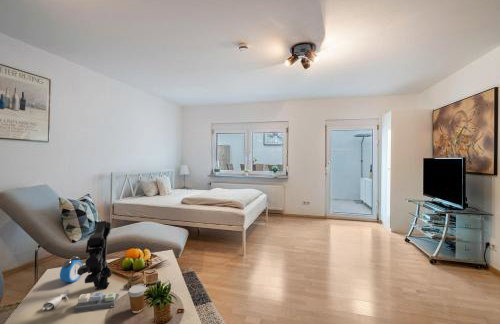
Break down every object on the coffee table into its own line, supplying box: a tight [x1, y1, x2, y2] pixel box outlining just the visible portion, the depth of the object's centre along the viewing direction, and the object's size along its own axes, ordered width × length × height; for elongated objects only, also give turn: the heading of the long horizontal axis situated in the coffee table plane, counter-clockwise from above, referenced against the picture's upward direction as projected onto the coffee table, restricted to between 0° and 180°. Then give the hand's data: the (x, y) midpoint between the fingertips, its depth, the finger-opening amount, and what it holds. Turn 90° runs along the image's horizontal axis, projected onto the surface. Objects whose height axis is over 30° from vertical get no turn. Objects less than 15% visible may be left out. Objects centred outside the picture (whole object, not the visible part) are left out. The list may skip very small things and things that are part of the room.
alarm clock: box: [59, 255, 84, 284], centre depth 160 cm, size 13×6×15 cm, turn 178°
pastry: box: [126, 272, 145, 289], centre depth 158 cm, size 13×15×8 cm
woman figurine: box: [41, 290, 70, 311], centre depth 138 cm, size 12×4×18 cm
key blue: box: [91, 291, 104, 301], centre depth 137 cm, size 4×4×2 cm
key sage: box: [105, 292, 117, 302], centre depth 139 cm, size 4×4×2 cm
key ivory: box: [77, 292, 91, 303], centre depth 136 cm, size 4×4×2 cm
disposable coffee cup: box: [127, 284, 148, 311], centre depth 133 cm, size 10×10×12 cm
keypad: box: [73, 293, 120, 313], centre depth 138 cm, size 11×19×2 cm, turn 106°
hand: (96, 286), depth 137 cm, fingers closed
